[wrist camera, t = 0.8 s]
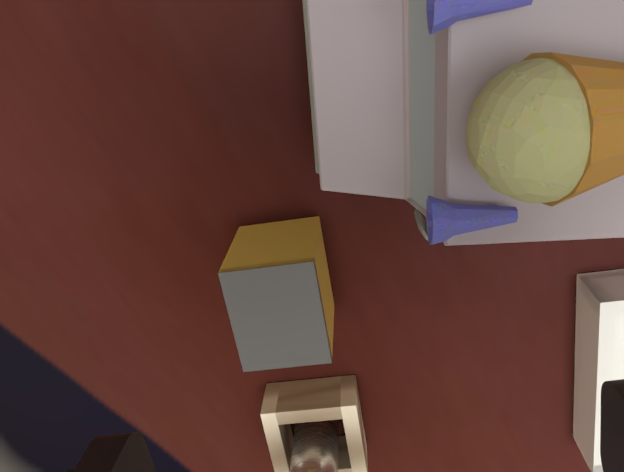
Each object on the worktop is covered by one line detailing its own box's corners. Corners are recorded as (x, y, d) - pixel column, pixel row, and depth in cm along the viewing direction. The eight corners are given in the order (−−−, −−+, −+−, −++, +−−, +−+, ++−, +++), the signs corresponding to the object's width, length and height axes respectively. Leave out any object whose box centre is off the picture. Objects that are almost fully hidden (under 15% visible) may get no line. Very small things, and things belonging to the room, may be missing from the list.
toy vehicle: (303, -48, 23) (236, -113, 9) (818, -96, 21) (1714, -264, 7) (319, 171, 26) (291, 366, 13) (760, 144, 25) (1282, 336, 11)
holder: (266, 383, 31) (260, 414, 29) (355, 374, 31) (356, 405, 28) (282, 451, 33) (278, 485, 31) (366, 444, 33) (368, 478, 30)
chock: (239, 226, 28) (217, 273, 23) (319, 215, 27) (313, 261, 23) (259, 312, 30) (243, 372, 25) (334, 304, 29) (331, 362, 24)
